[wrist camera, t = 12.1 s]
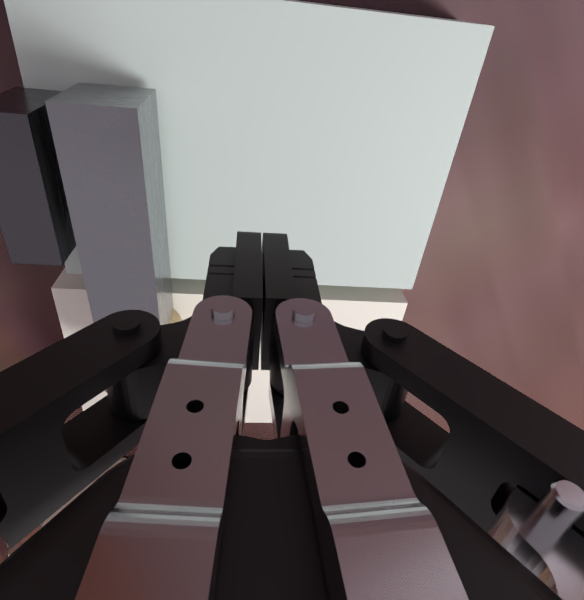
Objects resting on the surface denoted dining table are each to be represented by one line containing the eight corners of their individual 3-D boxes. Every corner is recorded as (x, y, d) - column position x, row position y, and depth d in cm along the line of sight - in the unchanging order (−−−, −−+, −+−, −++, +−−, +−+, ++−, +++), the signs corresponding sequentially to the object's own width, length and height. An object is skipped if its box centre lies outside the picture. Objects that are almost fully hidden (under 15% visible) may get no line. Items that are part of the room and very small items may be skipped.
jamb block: (390, 267, 29) (407, 303, 26) (359, 383, 35) (369, 423, 32) (75, 251, 27) (50, 288, 24) (102, 378, 33) (85, 421, 30)
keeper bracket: (67, 91, 18) (26, 114, 15) (91, 223, 22) (62, 265, 18) (16, 86, 18) (-37, 109, 15) (48, 220, 21) (11, 263, 18)
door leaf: (457, 19, 21) (494, 26, 18) (393, 254, 29) (411, 289, 25) (40, -31, 19) (-5, -35, 16) (89, 238, 26) (66, 273, 23)
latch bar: (185, 352, 26) (176, 401, 23) (116, 351, 26) (97, 400, 23) (168, 90, 18) (150, 111, 15) (65, 81, 17) (25, 101, 14)
